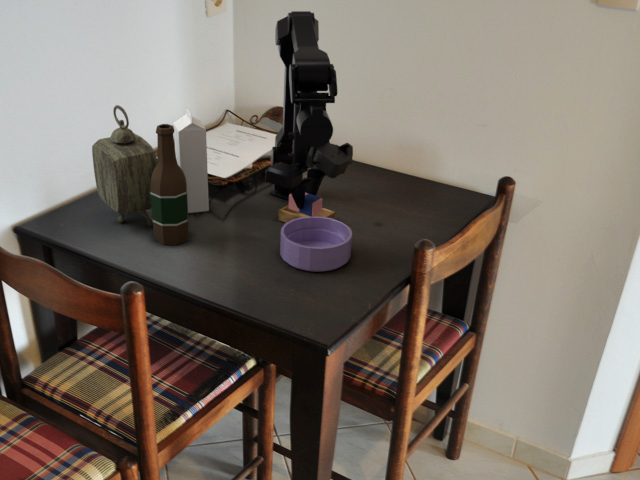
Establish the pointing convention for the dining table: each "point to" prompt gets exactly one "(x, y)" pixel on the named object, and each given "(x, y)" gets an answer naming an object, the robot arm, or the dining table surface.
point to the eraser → (308, 205)
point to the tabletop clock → (124, 170)
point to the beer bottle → (168, 192)
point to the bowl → (315, 243)
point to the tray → (289, 214)
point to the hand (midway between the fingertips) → (305, 205)
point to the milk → (193, 160)
